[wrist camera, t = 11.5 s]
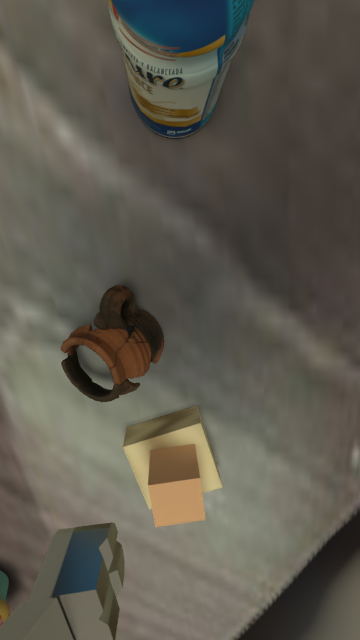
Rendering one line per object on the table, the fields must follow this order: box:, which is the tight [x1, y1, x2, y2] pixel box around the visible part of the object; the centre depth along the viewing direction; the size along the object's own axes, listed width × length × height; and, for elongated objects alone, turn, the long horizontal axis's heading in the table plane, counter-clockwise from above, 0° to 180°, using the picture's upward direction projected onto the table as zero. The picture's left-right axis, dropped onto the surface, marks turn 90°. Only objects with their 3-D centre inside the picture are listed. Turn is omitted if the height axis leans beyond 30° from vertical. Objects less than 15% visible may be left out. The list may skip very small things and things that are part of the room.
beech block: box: [123, 406, 222, 509], centre depth 35 cm, size 9×9×4 cm
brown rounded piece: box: [61, 285, 164, 402], centre depth 31 cm, size 12×10×8 cm
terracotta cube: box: [148, 444, 206, 527], centre depth 31 cm, size 5×5×5 cm
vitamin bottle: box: [108, 0, 254, 138], centre depth 18 cm, size 8×8×20 cm
